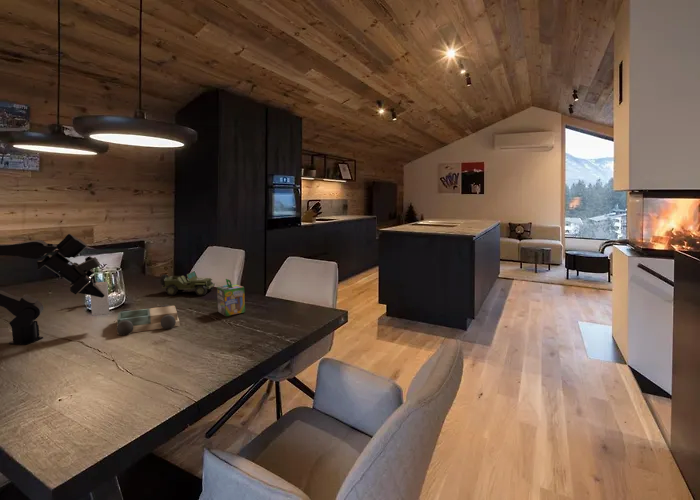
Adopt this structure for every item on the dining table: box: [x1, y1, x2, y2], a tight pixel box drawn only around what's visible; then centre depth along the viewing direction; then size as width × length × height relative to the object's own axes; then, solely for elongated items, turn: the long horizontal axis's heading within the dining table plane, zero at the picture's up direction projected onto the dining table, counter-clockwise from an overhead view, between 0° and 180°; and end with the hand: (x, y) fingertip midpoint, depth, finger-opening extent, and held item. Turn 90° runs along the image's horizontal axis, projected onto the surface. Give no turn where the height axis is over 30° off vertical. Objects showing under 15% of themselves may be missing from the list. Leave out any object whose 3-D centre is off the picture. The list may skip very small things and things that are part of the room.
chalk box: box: [216, 278, 246, 317], centre depth 161 cm, size 9×9×15 cm
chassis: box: [116, 304, 181, 336], centre depth 144 cm, size 20×18×5 cm
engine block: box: [89, 281, 110, 316], centre depth 135 cm, size 5×5×11 cm
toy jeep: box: [160, 270, 216, 297], centre depth 194 cm, size 12×25×11 cm, turn 91°
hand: (104, 294), depth 136 cm, fingers closed on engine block, 5 cm apart
